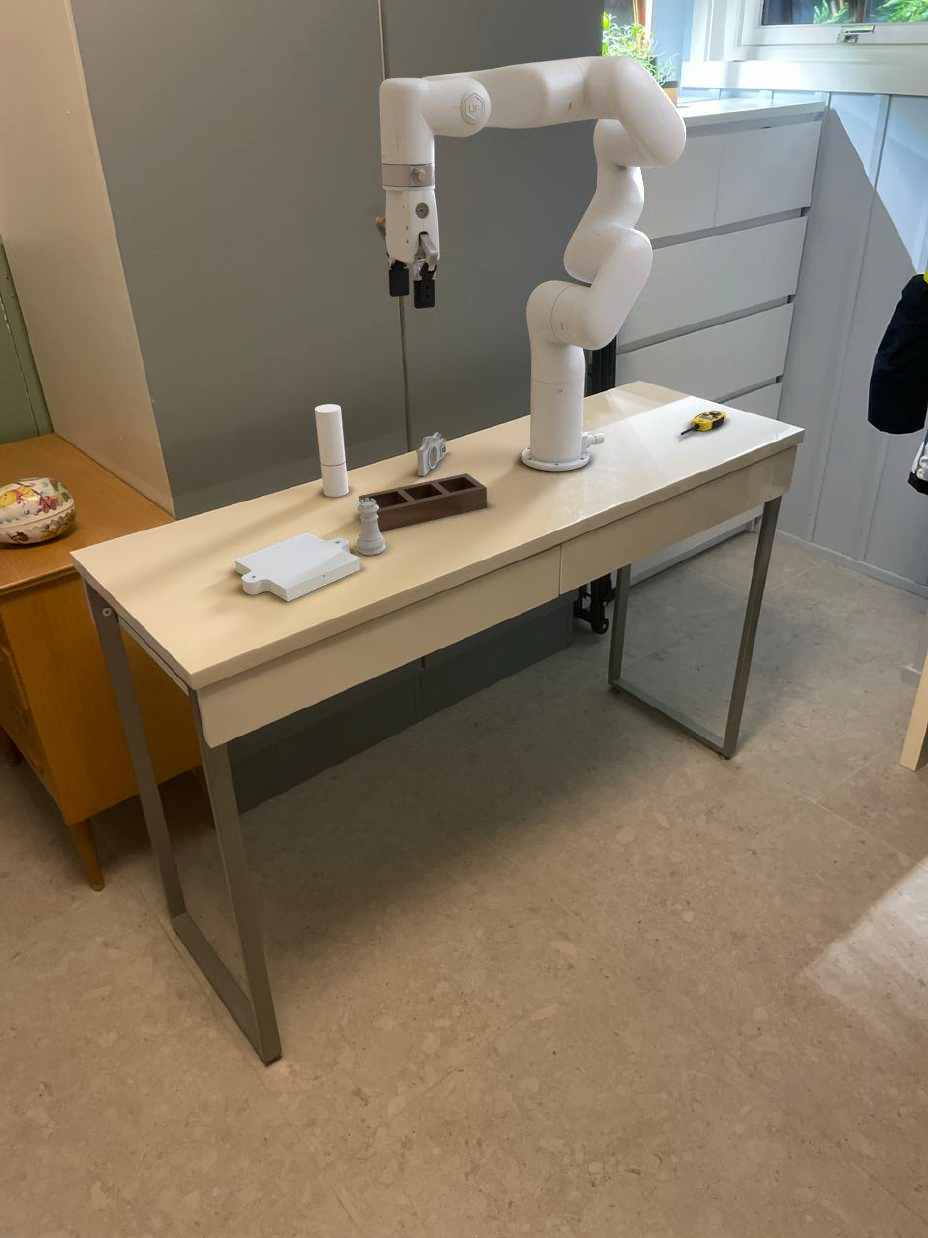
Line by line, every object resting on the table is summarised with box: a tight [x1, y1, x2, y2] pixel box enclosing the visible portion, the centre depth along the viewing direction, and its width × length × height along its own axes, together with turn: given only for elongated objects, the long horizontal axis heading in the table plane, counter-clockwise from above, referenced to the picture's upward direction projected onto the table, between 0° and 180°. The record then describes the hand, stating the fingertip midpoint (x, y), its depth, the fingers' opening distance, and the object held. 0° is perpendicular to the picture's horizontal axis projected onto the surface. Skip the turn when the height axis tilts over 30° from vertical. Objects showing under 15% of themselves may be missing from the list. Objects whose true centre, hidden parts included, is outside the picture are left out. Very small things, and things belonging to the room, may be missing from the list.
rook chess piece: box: [356, 499, 387, 557], centre depth 140 cm, size 4×4×8 cm
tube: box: [314, 403, 349, 498], centre depth 158 cm, size 4×4×15 cm
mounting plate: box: [234, 531, 361, 602], centre depth 136 cm, size 18×13×2 cm
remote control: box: [680, 409, 727, 436], centre depth 185 cm, size 5×2×15 cm
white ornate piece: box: [415, 431, 448, 477], centre depth 170 cm, size 12×2×6 cm, turn 161°
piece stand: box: [358, 472, 488, 533], centre depth 153 cm, size 7×20×4 cm, turn 117°
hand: (411, 301), depth 141 cm, fingers open, 9 cm apart
